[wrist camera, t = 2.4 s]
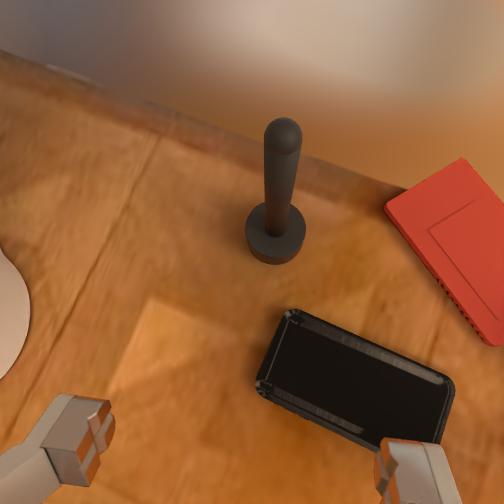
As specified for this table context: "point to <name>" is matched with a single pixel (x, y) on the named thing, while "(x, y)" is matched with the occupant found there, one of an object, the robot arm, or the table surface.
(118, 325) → the table surface
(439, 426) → the phone
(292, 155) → the dark post on base
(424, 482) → the robot arm
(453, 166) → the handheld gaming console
